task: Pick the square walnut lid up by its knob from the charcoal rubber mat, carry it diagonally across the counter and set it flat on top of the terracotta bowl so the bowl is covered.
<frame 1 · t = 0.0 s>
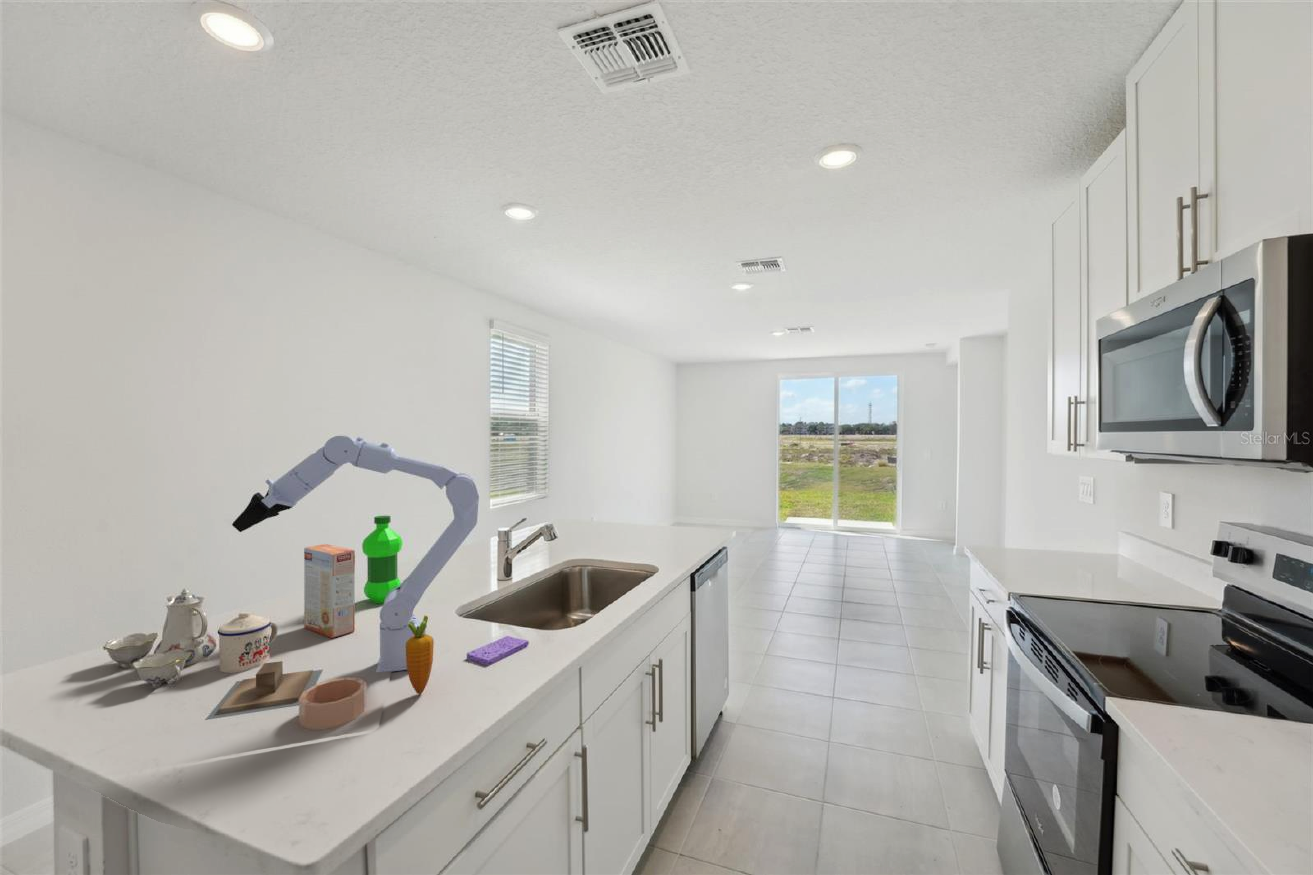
hand: (243, 524, 106), 32 cm above the worktop, tool tilted 50°, fingers open, 7 cm apart
chinaware: (168, 668, 115), on the worktop
sponges: (498, 655, 124), on the worktop
cracker box: (329, 630, 137), on the worktop
walnut lid: (269, 692, 104), resting on rubber mat
rubber mat: (269, 694, 104), on the worktop
terracotta bowl: (333, 715, 96), on the worktop
carrot: (419, 695, 104), on the worktop
plastic bottle: (382, 601, 160), on the worktop
teacup with lid: (251, 663, 117), on the worktop
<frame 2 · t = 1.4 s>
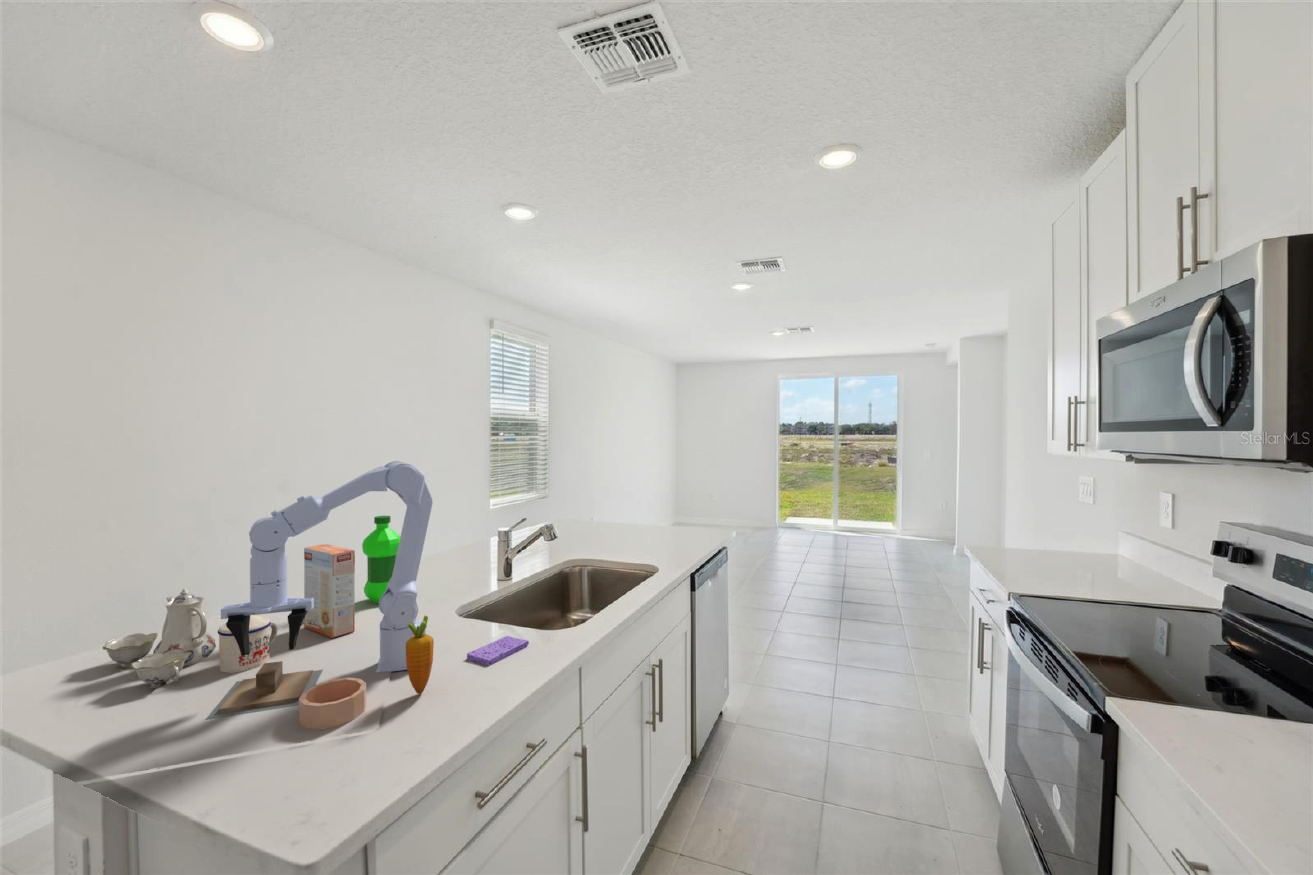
hand: (269, 650, 103), 9 cm above the worktop, tool pointing down, fingers open, 7 cm apart
nothing on the worktop moved.
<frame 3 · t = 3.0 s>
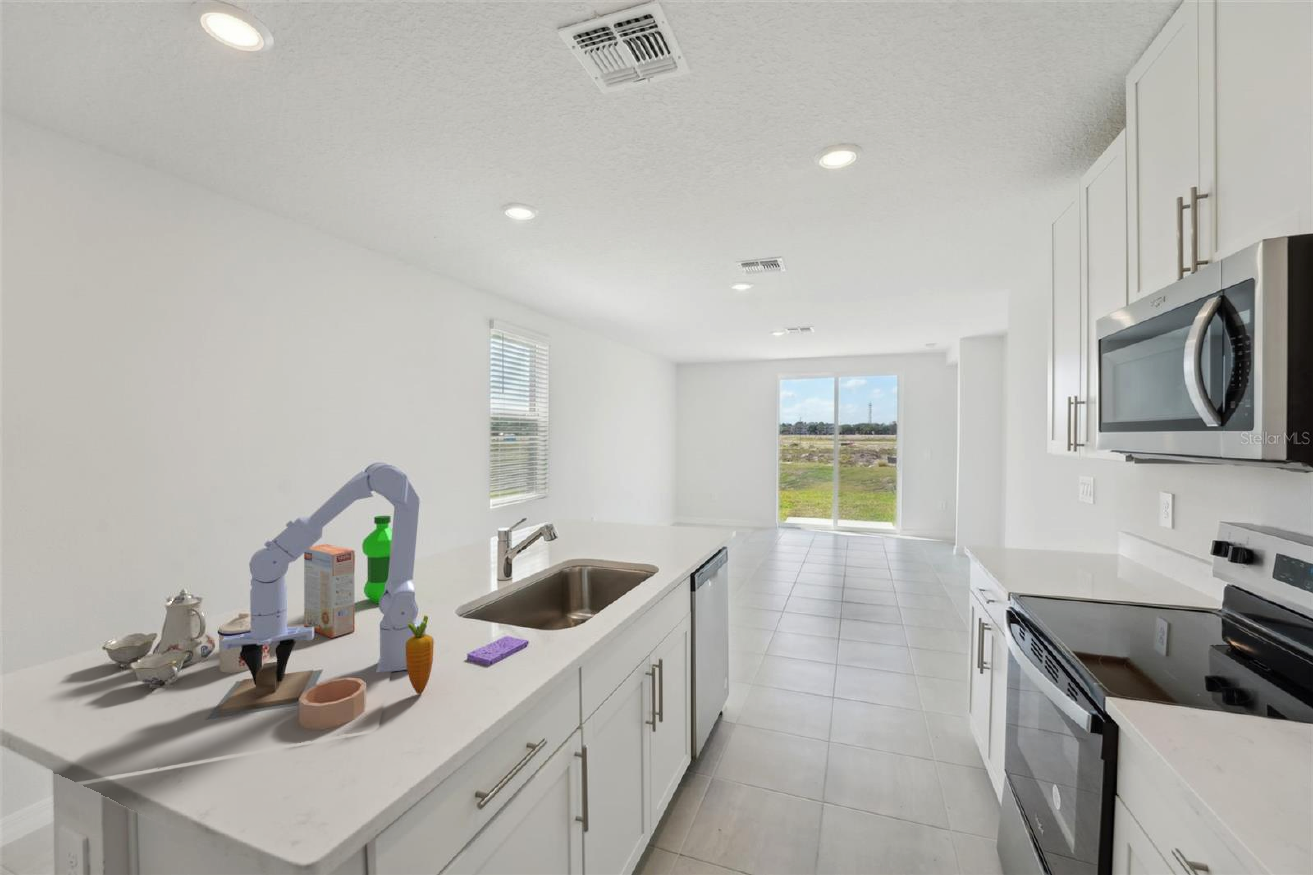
hand: (269, 680, 103), 3 cm above the worktop, tool pointing down, fingers closed on walnut lid, 3 cm apart
walnut lid: (269, 692, 104), resting on rubber mat, touching gripper
everything else where it was.
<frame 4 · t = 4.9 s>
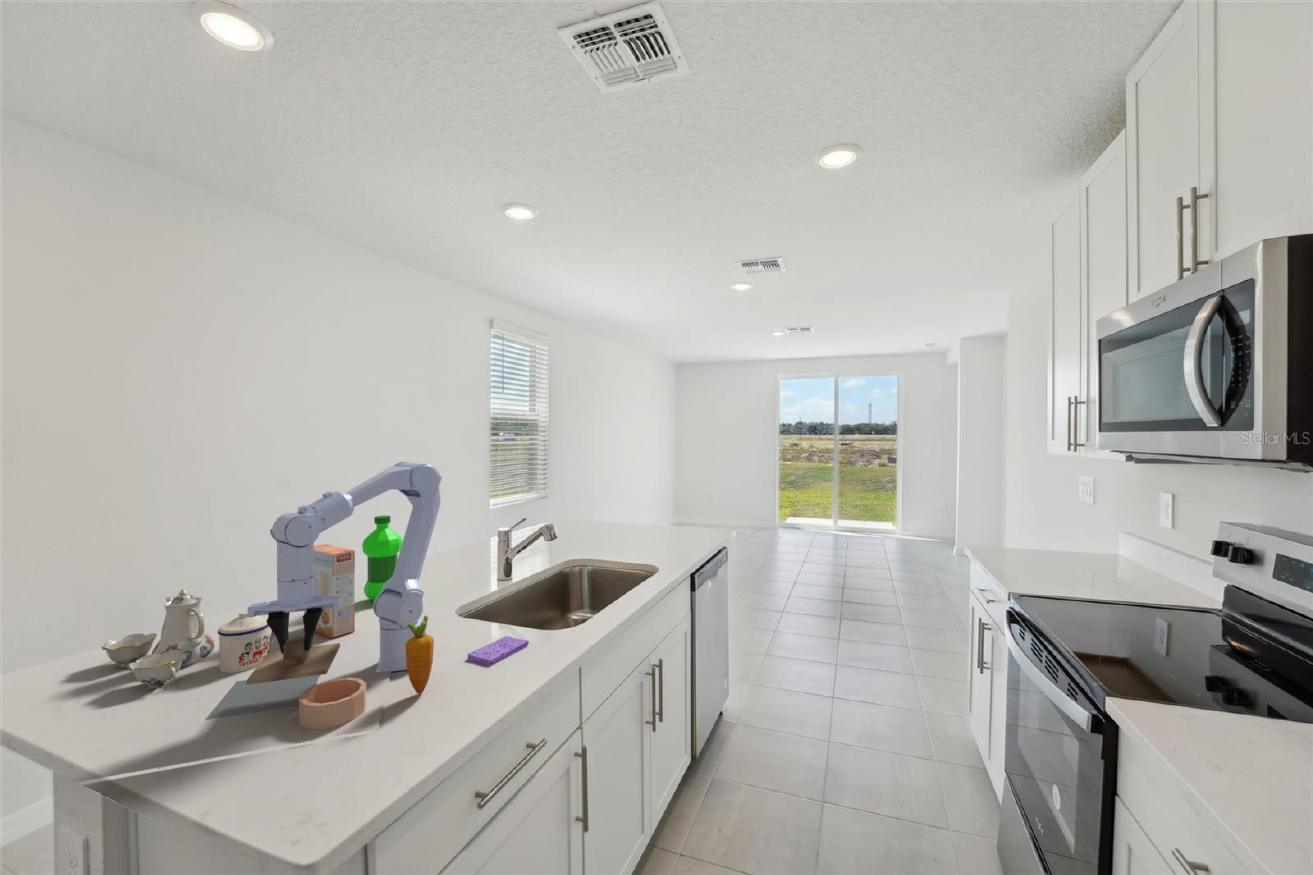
hand: (296, 650, 100), 10 cm above the worktop, tool pointing down, fingers closed on walnut lid, 3 cm apart
walnut lid: (296, 664, 100), point 7 cm above the worktop, touching gripper
everything else where it was.
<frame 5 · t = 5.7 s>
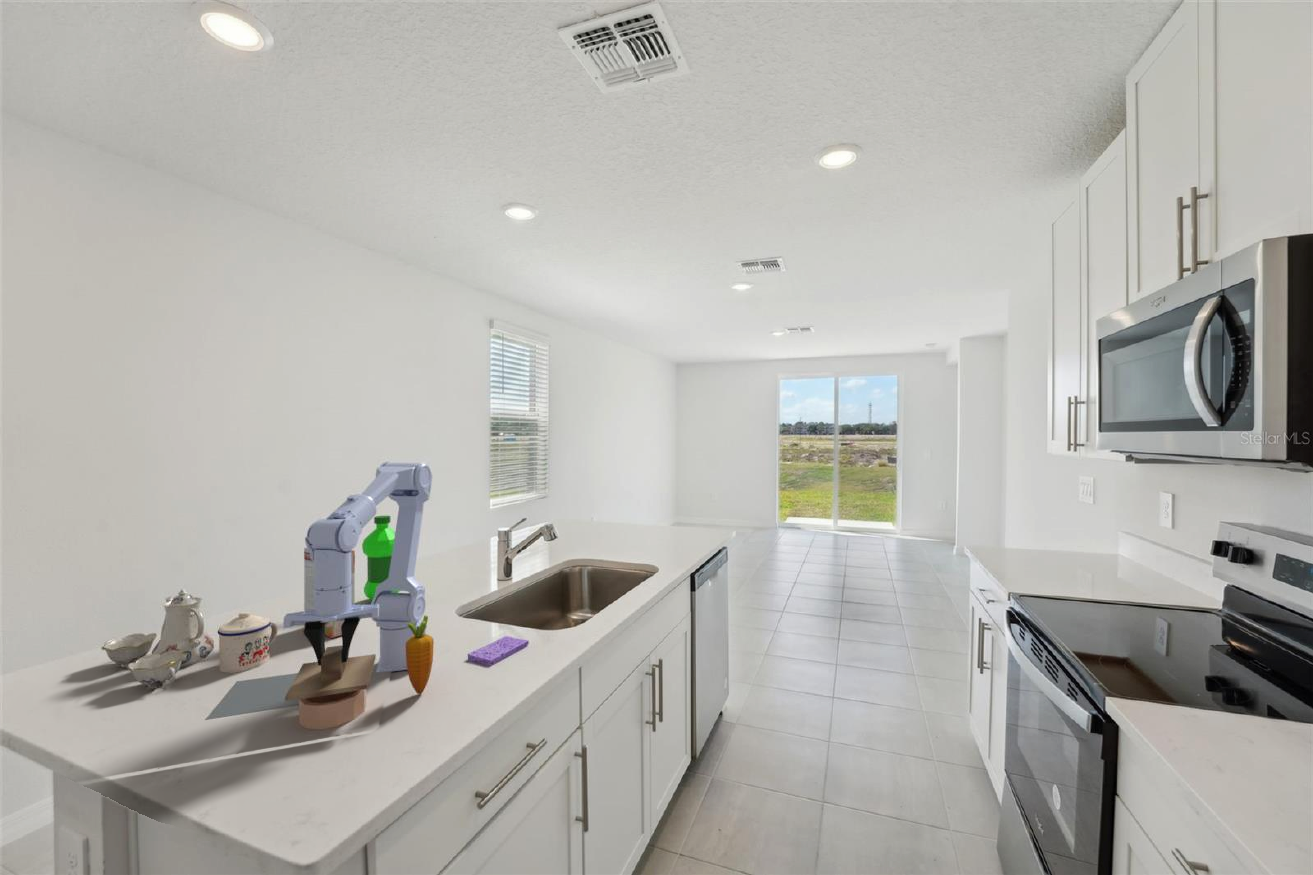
hand: (333, 661, 96), 10 cm above the worktop, tool pointing down, fingers closed on walnut lid, 3 cm apart
walnut lid: (334, 678, 96), point 7 cm above the worktop, touching gripper
everything else where it was.
when the fingers open (8 cm above the worktop, at t = 6.6 s): walnut lid stays where it is, resting on terracotta bowl.
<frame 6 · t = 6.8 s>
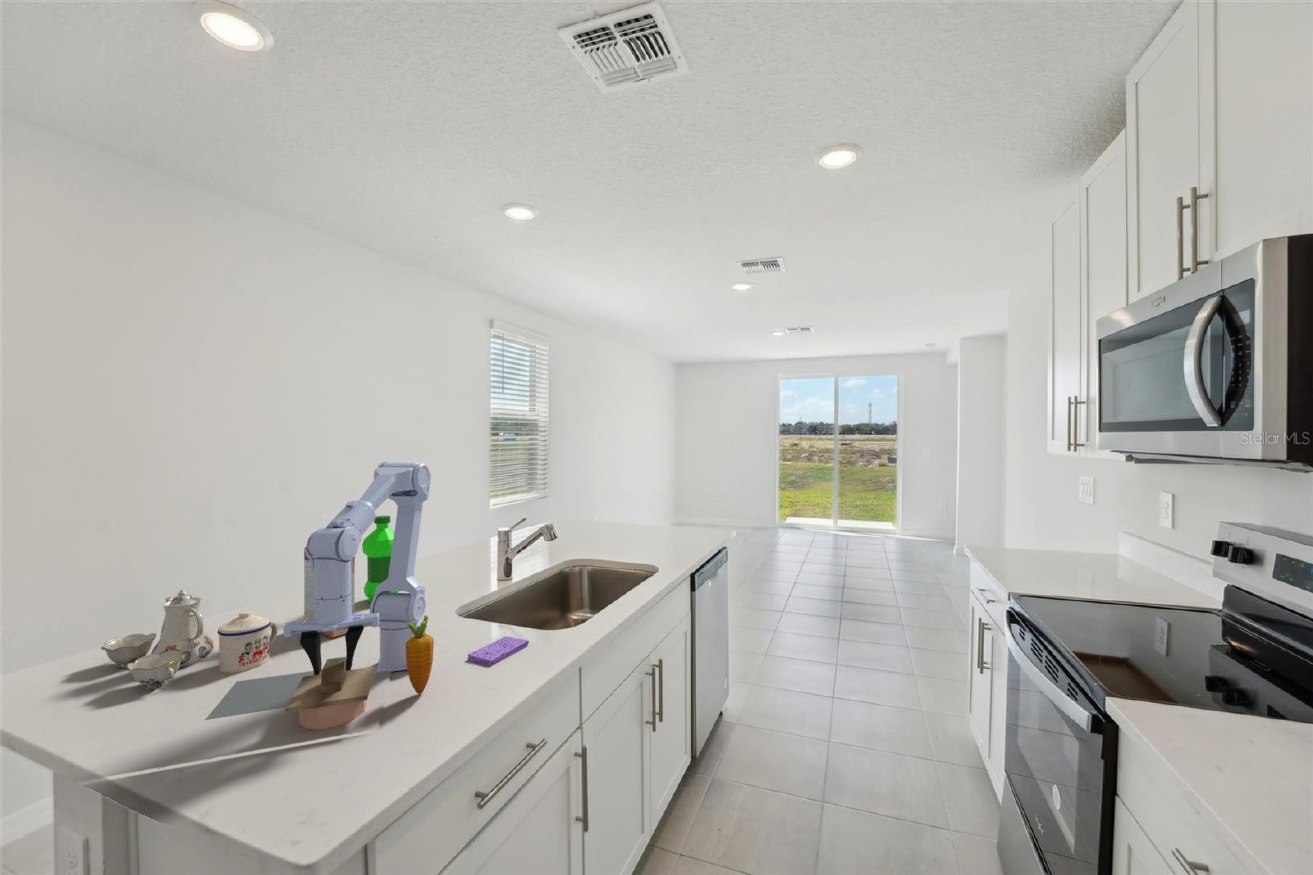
hand: (333, 670, 96), 8 cm above the worktop, tool pointing down, fingers open, 4 cm apart
walnut lid: (334, 690, 96), point 4 cm above the worktop, touching terracotta bowl
everything else where it was.
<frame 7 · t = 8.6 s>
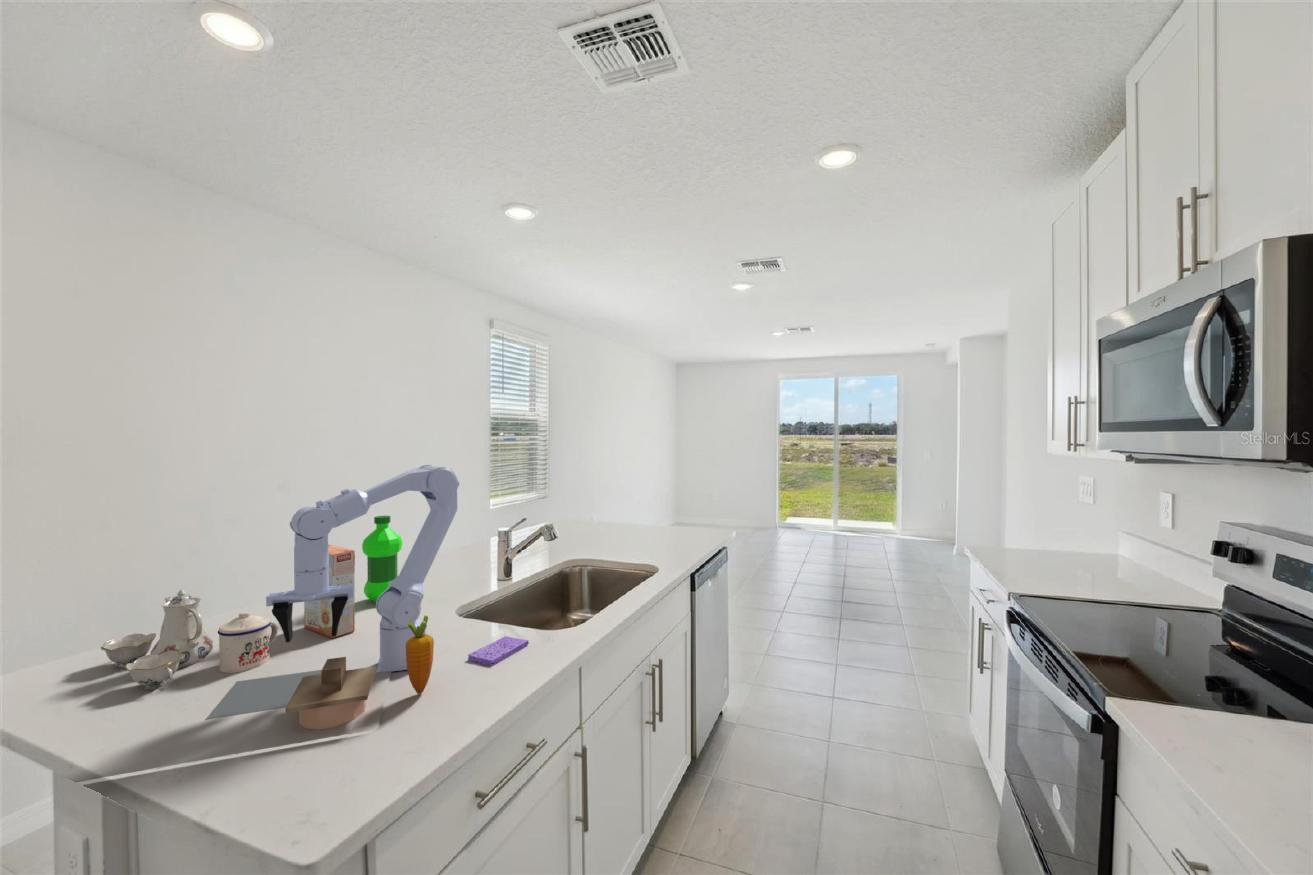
hand: (312, 637, 105), 10 cm above the worktop, tool pointing down, fingers open, 7 cm apart
nothing on the worktop moved.
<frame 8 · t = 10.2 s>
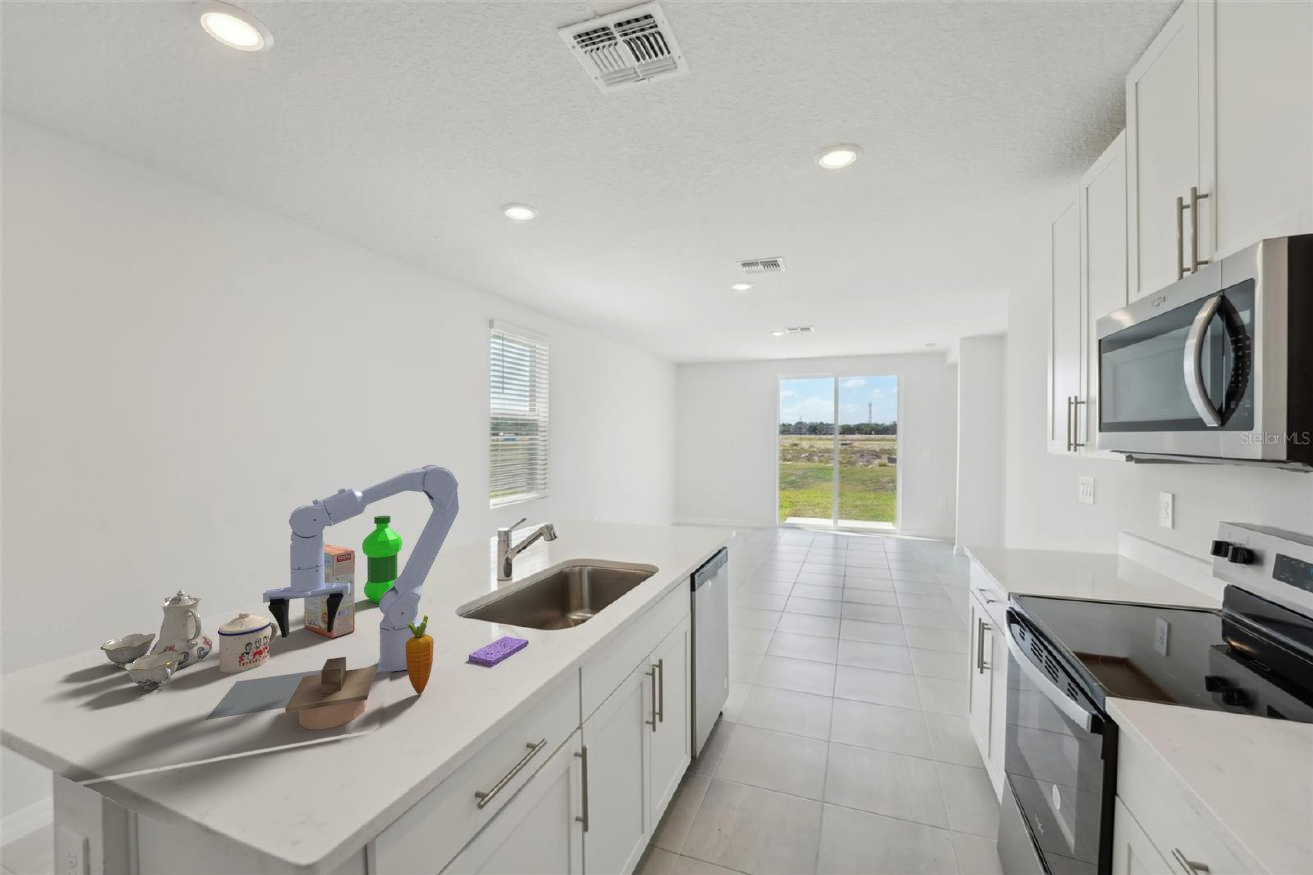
hand: (308, 633, 107), 10 cm above the worktop, tool pointing down, fingers open, 7 cm apart
nothing on the worktop moved.
at the end: walnut lid 0.4 cm off-centre on the terracotta bowl, point 4.5 cm above the terracotta bowl's base; walnut lid tilted 0°; the gripper is holding nothing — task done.
